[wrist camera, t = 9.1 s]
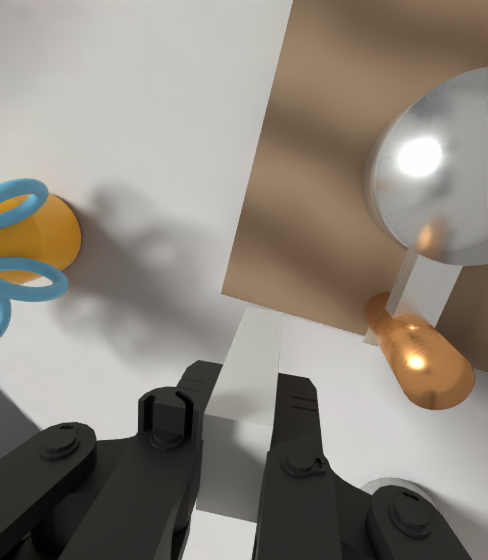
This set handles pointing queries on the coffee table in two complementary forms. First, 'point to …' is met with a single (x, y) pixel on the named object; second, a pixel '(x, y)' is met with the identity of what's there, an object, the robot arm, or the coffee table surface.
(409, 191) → the knob
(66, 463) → the robot arm
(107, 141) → the coffee table surface
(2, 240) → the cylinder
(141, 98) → the coffee table surface
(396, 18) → the base
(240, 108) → the coffee table surface
